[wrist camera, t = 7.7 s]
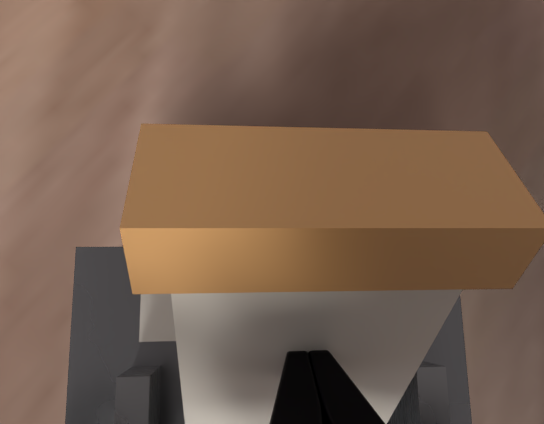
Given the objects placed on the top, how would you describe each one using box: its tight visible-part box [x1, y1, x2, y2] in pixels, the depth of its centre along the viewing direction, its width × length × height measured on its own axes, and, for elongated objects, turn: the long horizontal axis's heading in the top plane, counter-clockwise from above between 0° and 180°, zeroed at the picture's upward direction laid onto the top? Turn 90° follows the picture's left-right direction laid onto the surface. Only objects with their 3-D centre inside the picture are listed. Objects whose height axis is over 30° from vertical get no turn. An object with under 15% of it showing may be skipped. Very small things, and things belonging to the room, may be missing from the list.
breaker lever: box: [120, 124, 544, 424], centre depth 11 cm, size 2×6×9 cm
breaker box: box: [65, 247, 472, 424], centre depth 16 cm, size 10×12×8 cm
